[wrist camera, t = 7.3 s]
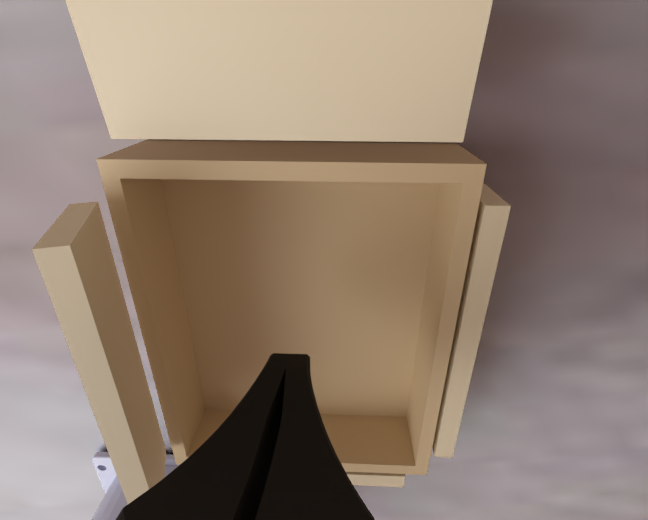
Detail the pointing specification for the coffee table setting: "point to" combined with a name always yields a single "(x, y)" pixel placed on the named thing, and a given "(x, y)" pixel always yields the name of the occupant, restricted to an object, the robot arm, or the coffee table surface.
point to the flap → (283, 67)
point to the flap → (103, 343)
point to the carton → (312, 284)
